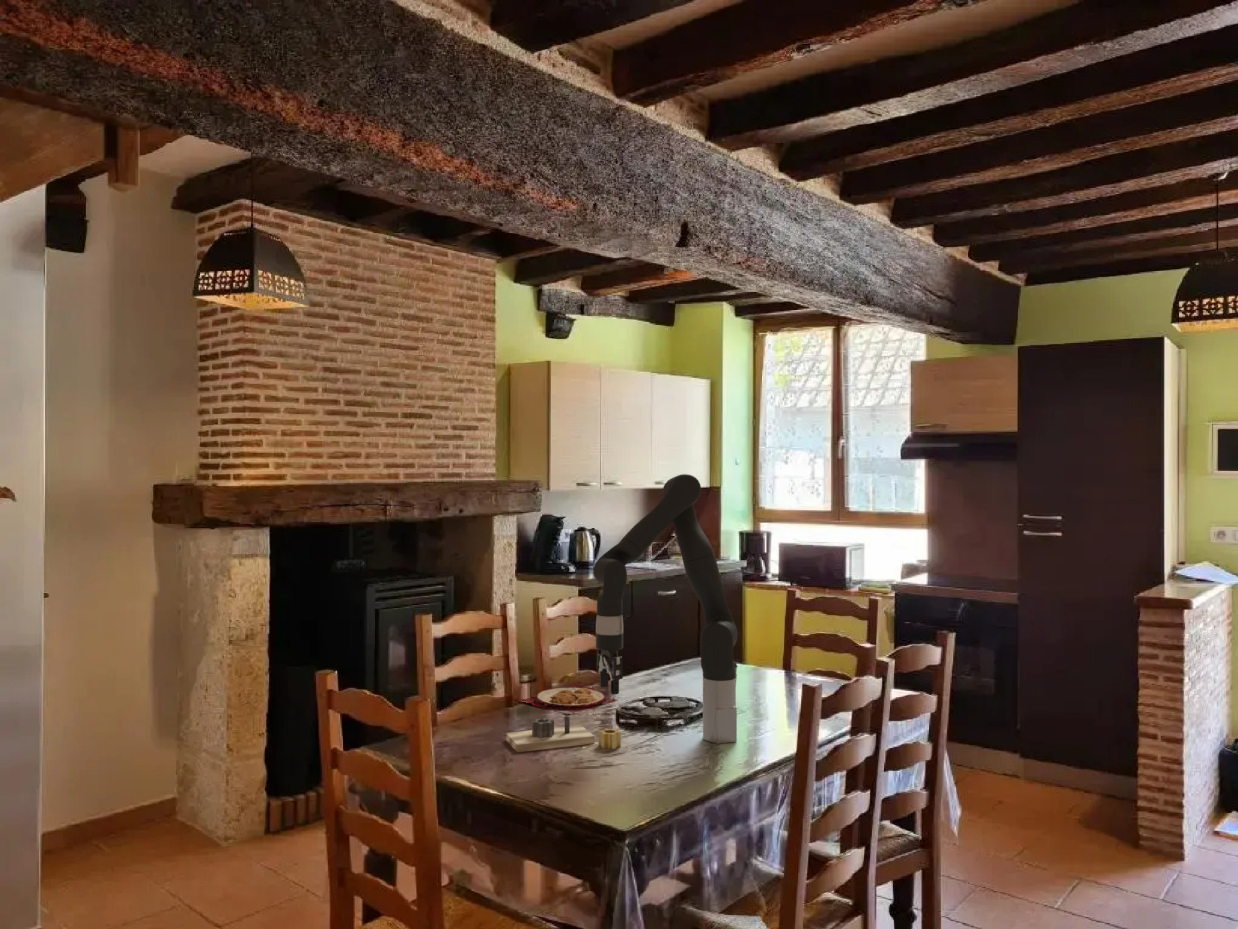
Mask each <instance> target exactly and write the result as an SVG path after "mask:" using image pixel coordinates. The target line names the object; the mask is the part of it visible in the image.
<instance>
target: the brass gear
mask: <svg viewBox="0 0 1238 929" xmlns="http://www.w3.org/2000/svg"><path fill="white" fill-rule="evenodd" d="M598 747H601V749H602V750H606V749H609V750H616V748H621V747H622V731H621V730H619V728H604V729H602V730H598Z"/></svg>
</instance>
